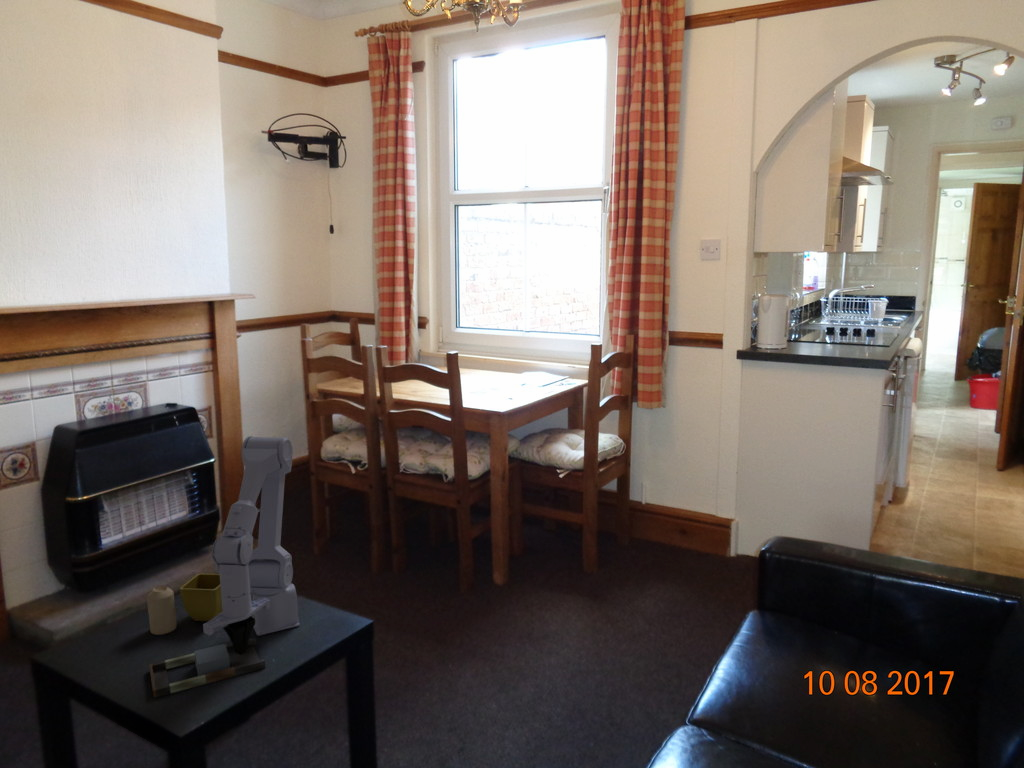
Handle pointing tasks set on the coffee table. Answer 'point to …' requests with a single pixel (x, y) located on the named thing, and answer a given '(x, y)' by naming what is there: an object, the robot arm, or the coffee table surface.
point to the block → (211, 659)
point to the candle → (161, 610)
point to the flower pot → (202, 597)
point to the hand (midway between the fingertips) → (240, 652)
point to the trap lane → (238, 663)
